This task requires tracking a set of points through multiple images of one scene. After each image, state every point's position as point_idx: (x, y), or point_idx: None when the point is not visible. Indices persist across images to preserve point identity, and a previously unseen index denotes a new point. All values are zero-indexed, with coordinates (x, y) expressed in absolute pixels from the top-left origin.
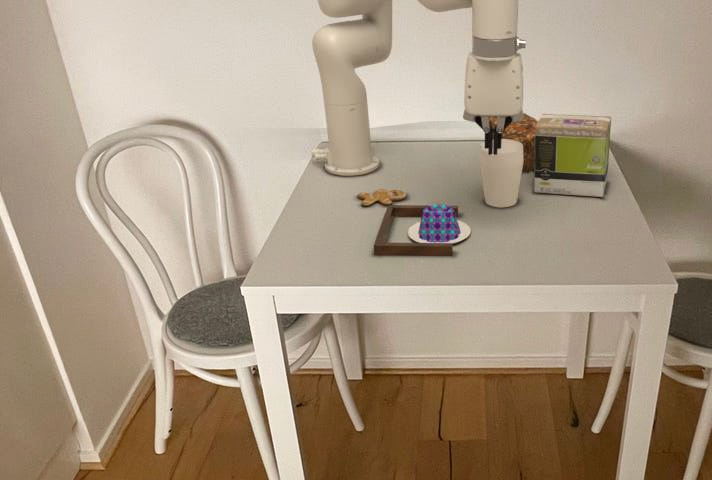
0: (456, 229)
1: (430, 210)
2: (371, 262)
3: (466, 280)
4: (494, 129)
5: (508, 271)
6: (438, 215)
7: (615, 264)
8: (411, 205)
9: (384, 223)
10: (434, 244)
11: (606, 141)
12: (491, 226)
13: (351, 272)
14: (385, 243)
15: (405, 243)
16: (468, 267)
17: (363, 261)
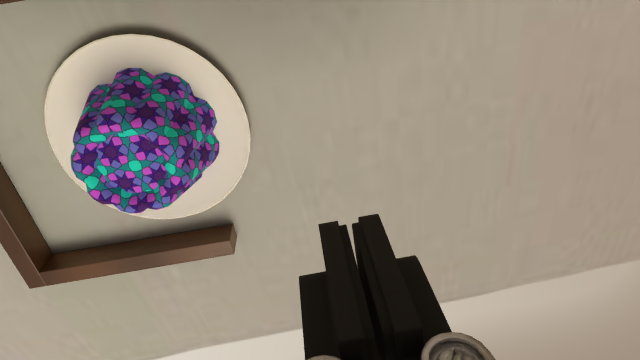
0: (210, 155)
1: (96, 159)
2: (59, 297)
3: (300, 318)
4: (390, 346)
5: None
6: (149, 208)
7: (626, 199)
8: None
9: None
10: (185, 256)
11: None
12: (299, 37)
13: (45, 339)
14: (53, 274)
15: (106, 265)
16: (291, 274)
17: (37, 297)
